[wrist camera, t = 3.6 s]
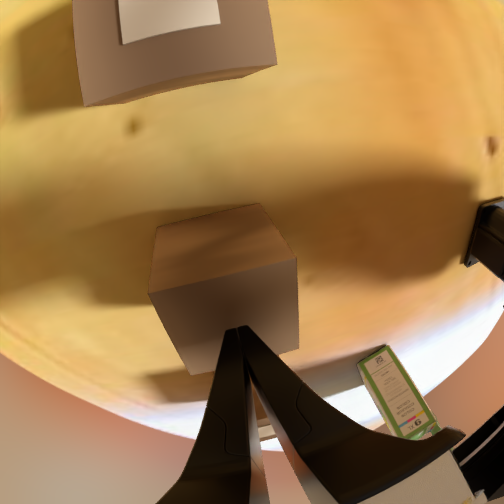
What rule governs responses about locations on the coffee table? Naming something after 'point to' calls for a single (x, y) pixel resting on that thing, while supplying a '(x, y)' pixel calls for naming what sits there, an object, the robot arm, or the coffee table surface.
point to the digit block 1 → (167, 45)
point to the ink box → (397, 396)
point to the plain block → (224, 283)
